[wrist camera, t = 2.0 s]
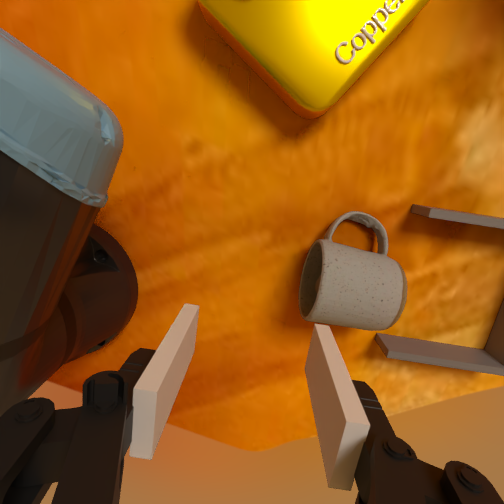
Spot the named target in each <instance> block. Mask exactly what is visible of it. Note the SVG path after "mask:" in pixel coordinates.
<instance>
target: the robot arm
mask: <svg viewBox="0 0 504 504" xmlns="http://www.w3.org/2000/svg"><path fill="white" fill-rule="evenodd" d="M122 148H123V132H122V128H121V125H120V123H119V121H118V119H117V117H116V116H115V114H114V113H113V112H112V110H111V109H110V108H109V107H108V106H107V105H106V104H104V103H103V102H102V101H101V100H100V99H98V98H97V97H96V96H95V95H93V94H92V93H91V92H89V91H88V90H87V89H85V88H84V87H83V86H81V85H80V84H79V83H77V82H76V81H75V80H73V79H72V78H70V77H69V76H68V75H66V74H65V73H64V72H62V71H61V70H60V69H58V68H57V67H55V66H54V65H52V64H51V63H50V62H48V61H47V60H45V59H44V58H43V57H41V56H40V55H38V54H37V53H36V52H34V51H33V50H31V49H30V48H29V47H27V46H26V45H24V44H23V43H22V42H20V41H19V40H17V39H16V38H15V37H13V36H12V35H10V34H9V33H7V32H6V31H5V30H3V29H2V28H0V504H40V503H41V501H42V499H43V498H44V496H45V494H46V493H47V491H48V489H49V488H50V486H51V484H52V483H54V482H58V485H57V488H56V491H55V494H54V497H53V500H52V504H119V499H120V491H121V483H122V475H123V467H124V456H125V454H126V452H127V450H128V448H129V446H130V455H129V456H131V457H137V458H144V459H150V460H152V457H153V455H154V452H155V450H156V447H157V444H158V442H159V439H160V437H161V434H162V432H163V429H164V427H165V424H166V422H167V419H168V417H169V414H170V412H171V409H172V406H173V404H174V401H175V399H176V396H177V394H178V391H179V389H180V386H181V384H182V381H183V379H184V376H185V373H186V371H187V368H188V366H189V363H190V361H191V358H192V356H193V353H194V348H195V340H196V331H197V322H198V313H199V306H198V305H192V304H184V306H183V308H182V309H181V311H180V313H179V314H178V316H177V318H176V319H175V321H174V323H173V324H172V326H171V327H170V329H169V331H168V332H167V334H166V336H165V337H164V339H163V341H162V342H161V344H160V346H159V347H158V349H157V350H151V349H145V348H140V349H138V350H137V351H135V352H133V353H132V354H131V355H130V356H129V357H128V359H127V360H126V361H125V363H124V364H123V365H122V367H121V368H120V370H119V371H103V372H99V373H96V374H94V375H92V376H91V377H89V378H88V379H86V381H85V382H84V384H83V406H81V407H77V408H71V409H59V410H55V408H54V403H53V402H52V401H51V400H50V399H46V398H31V399H28V398H29V397H30V396H31V395H32V394H33V393H34V392H35V391H36V390H37V389H38V388H39V387H40V386H41V385H42V384H43V383H44V382H45V381H46V380H47V379H48V378H49V377H50V376H51V375H53V374H54V373H55V372H56V371H57V370H58V369H59V368H60V367H61V366H62V365H63V364H66V363H68V362H70V361H73V360H75V359H77V358H79V357H82V356H84V355H85V354H88V353H91V352H93V351H96V350H98V349H100V348H102V347H103V346H105V345H106V344H108V343H109V342H111V341H112V340H113V339H114V338H115V337H116V336H117V335H118V334H119V333H120V332H121V331H122V329H123V328H124V327H125V326H126V325H127V324H128V322H129V321H130V319H131V317H132V315H133V313H134V311H135V308H136V304H137V299H138V283H137V277H136V273H135V270H134V267H133V265H132V263H131V260H130V259H129V257H128V255H127V254H126V252H125V251H124V249H123V248H122V247H121V245H120V244H119V243H118V242H117V241H116V240H115V239H114V238H113V237H112V236H111V235H110V234H108V233H107V232H106V231H104V230H103V229H102V228H100V227H98V226H97V225H95V224H93V223H94V220H95V218H96V216H97V214H98V212H99V210H100V208H102V207H104V206H105V204H106V202H107V200H108V195H107V190H108V188H109V185H110V182H111V179H112V177H113V174H114V171H115V168H116V166H117V163H118V160H119V157H120V155H121V152H122ZM305 373H306V378H307V383H308V388H309V393H310V398H311V403H312V408H313V413H314V418H315V422H316V427H317V432H318V437H319V442H320V447H321V452H322V457H323V462H324V467H325V472H326V477H327V482H328V487H329V488H336V489H342V490H349V491H350V490H351V488H352V485H353V481H354V478H355V480H356V484H357V487H358V490H359V492H358V495H357V498H356V502H355V504H504V502H503V500H502V499H501V497H500V496H499V494H498V493H497V491H496V490H495V488H494V487H493V485H492V484H491V483H490V482H489V481H488V480H487V478H486V477H485V476H484V475H482V474H481V473H480V472H479V471H478V470H476V469H475V468H473V467H471V466H469V465H468V464H465V463H462V462H459V461H450V462H448V463H446V466H445V468H444V470H442V469H440V468H437V467H435V466H433V465H430V464H428V463H425V462H423V461H421V460H419V459H417V457H416V454H415V452H414V451H413V449H412V448H411V447H410V446H409V445H408V444H407V443H406V442H404V441H403V440H402V439H400V438H398V437H396V435H395V433H394V431H393V429H392V427H391V425H390V423H389V421H388V419H387V417H386V415H385V413H384V411H383V410H382V407H381V405H380V403H379V402H378V399H377V397H376V395H375V393H374V391H373V390H372V389H371V388H370V387H369V386H368V385H367V384H366V383H365V382H362V381H356V380H351V378H350V375H349V373H348V370H347V368H346V366H345V363H344V361H343V358H342V356H341V353H340V351H339V349H338V346H337V344H336V341H335V339H334V337H333V334H332V332H331V329H330V327H329V326H327V325H320V324H314V329H313V333H312V338H311V342H310V347H309V351H308V356H307V360H306V365H305Z"/></svg>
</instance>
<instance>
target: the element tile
mask: <svg viewBox="0 0 504 504" xmlns="http://www.w3.org/2000/svg"><path fill="white" fill-rule="evenodd" d="M429 1H430V0H197V2H198V4H199V7H200V9H201V12H202V14H203V16H204V19H205V20H206V22H207V24H208V25H209V26H210V27H211V28H212V29H213V30H214V31H215V32H216V33H217V34H218V35H219V36H220V37H221V38H222V39H223V40H224V41H225V42H226V43H227V44H228V45H229V46H230V47H231V48H232V49H233V50H234V51H235V52H236V53H237V54H238V55H239V56H240V57H241V58H242V59H243V60H244V61H245V62H246V63H247V65H248V66H249V67H250V68H251V69H252V70H253V71H254V72H255V73H256V74H257V75H258V76H259V77H260V78H261V79H262V80H263V81H264V82H265V83H266V84H267V85H268V86H269V87H270V88H271V89H272V90H273V91H274V92H275V93H276V94H277V95H278V96H279V97H280V98H281V99H282V100H283V101H284V102H285V103H286V104H287V105H288V106H289V107H290V109H291V110H292V111H293V112H294V113H296V114H297V115H299V116H300V117H303V118H305V119H315V118H318V117H320V116H322V115H323V114H324V113H326V112H327V111H328V110H329V109H330V108H331V107H332V106H333V105H334V104H335V103H336V102H337V101H338V100H339V99H340V98H341V97H342V96H343V95H344V94H345V93H346V92H347V90H348V89H349V88H350V87H351V86H352V85H353V84H354V83H355V82H356V81H357V80H358V78H359V77H360V76H361V75H362V74H363V73H364V72H365V71H366V70H367V69H368V68H369V66H370V65H371V64H372V63H373V62H374V61H375V60H376V59H377V58H378V57H379V55H380V54H381V53H382V52H383V51H384V50H385V49H386V48H387V47H388V46H389V45H390V43H391V42H392V41H393V40H394V39H395V38H396V37H397V36H398V35H399V34H400V33H401V31H402V30H403V29H404V28H405V27H406V26H407V25H408V24H409V23H410V22H411V21H412V19H413V18H414V17H415V16H416V15H417V14H418V13H419V12H420V11H421V10H422V9H423V7H424V6H425V5H426V4H427V3H428V2H429Z"/></svg>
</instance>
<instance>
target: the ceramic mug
mask: <svg viewBox="0 0 504 504" xmlns="http://www.w3.org/2000/svg"><path fill="white" fill-rule="evenodd" d="M346 219H349V220H352V221H356V222H359V223H361V224H364V225H365V226H366V227H368V228H372V229H373V230H374V232H375V234H376V236H377V242H378V253H374V252H369V251H364V250H360V249H357V248H353V247H349V246H346V245H342V244H339V243H334V242H332V240H331V239H332V234H333V233H334V231H335V229H336V227H337V226H338V224H339V223H340V222H342V221H343V220H346ZM387 252H388V237H387V233H386V230H385V229H384V227H383V226H382V224H381V223H380V222H379V221H378V220H377V219H376V218H374V217H373V216H371V215H369V214H366V213H363V212H357V211H352V212H348V213H345V214H343V215H342V216H340V217H339V218H337V219H336V220H335V221H334V222H333V223H332V224H331V225H330V227H329V228H328V230H327V232H326V234H325V237H324V240H323V239H318V240H316V241H315V242H314V243H313V245H312V246H311V248H310V250H309V252H308V254H307V258H306V261H305V263H304V266H303V271H302V275H301V280H300V287H299V298H298V299H299V310H300V314H301V316H302V318H303V319H304V320H306V321H311V322H318V323H325V324H331V325H338V326H344V327H351V328H357V329H363V330H371V331H373V330H384V329H388V328H390V327H391V326H392V325H393V324H395V323H396V322H397V320H398V319H399V317H400V316H401V314H402V312H403V309H404V306H405V303H406V297H407V280H406V276H405V273H404V271H403V269H402V267H401V266H400V264H399V263H398V262H397V261H395V260H393V259H391V258H389V257H387Z"/></svg>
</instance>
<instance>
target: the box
mask: <svg viewBox="0 0 504 504" xmlns="http://www.w3.org/2000/svg"><path fill="white" fill-rule="evenodd" d="M411 212H412V213H415V214H419V215H422V216H426V217H430V218H437V219H443V220H450V221H456V222H463V223H469V224H476V225H482V226H489V227H495V228H501V229H504V218H499V217H492V216H486V215H479V214H473V213H466V212H460V211H454V210H447V209H441V208H434V207H428V206H421V205H415V204H413V205H412V209H411ZM375 340H376V342H377V343H378V345H379V346H380V348H381V349H382V351H383V352H384V354H385V356H386V357H387V358H393V359H399V360H405V361H412V362H418V363H425V364H431V365H437V366H444V367H450V368H457V369H463V370H470V371H476V372H482V373H489V374H495V375H502V376H504V300H503V302H502V305H501V307H500V310H499V313H498V315H497V318H496V320H495V323H494V326H493V328H492V331H491V333H490V336H489V339H488V341H487V344H486V346H485V349H484V350H483V349H476V348H470V347H464V346H457V345H451V344H444V343H438V342H431V341H425V340H419V339H412V338H406V337H399V336H393V335H386V334H380V333H377V334H376V337H375Z"/></svg>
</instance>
